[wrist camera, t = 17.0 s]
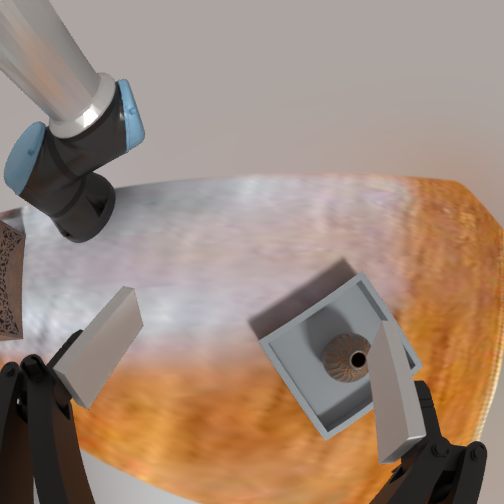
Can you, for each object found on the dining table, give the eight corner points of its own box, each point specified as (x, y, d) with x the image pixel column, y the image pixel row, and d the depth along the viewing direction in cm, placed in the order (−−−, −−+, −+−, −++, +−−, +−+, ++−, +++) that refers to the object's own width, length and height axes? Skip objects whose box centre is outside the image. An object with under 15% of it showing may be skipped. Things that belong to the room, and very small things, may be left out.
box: (259, 341, 40) (257, 341, 36) (355, 276, 41) (362, 270, 38) (321, 433, 34) (325, 440, 31) (413, 364, 36) (423, 366, 32)
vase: (311, 348, 38) (320, 349, 29) (351, 325, 38) (370, 320, 30) (331, 387, 35) (345, 398, 27) (371, 363, 36) (393, 367, 28)
